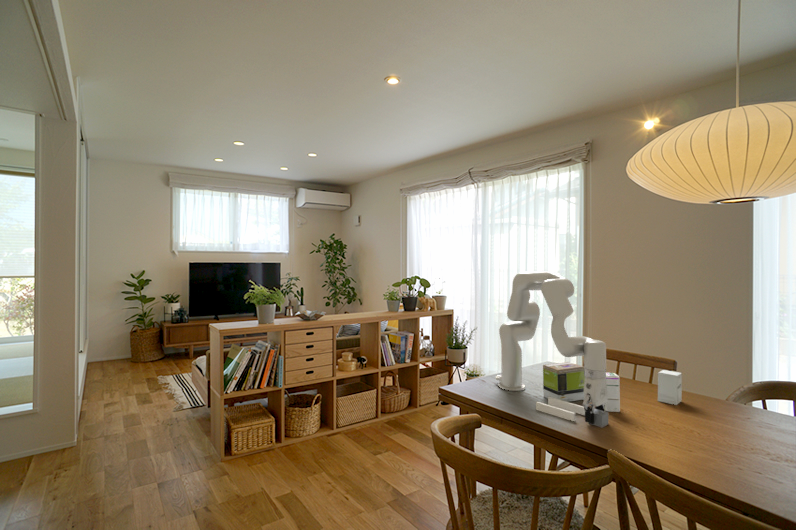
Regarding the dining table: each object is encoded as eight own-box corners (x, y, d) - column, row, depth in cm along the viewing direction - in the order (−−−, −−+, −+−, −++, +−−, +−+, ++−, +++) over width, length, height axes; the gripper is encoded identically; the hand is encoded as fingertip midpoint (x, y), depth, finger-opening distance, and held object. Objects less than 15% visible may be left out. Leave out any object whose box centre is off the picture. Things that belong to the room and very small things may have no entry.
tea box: (569, 393, 186) (569, 361, 186) (586, 400, 176) (586, 366, 176) (542, 396, 181) (542, 363, 181) (557, 404, 172) (557, 369, 172)
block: (588, 423, 151) (588, 411, 151) (594, 420, 154) (594, 408, 154) (602, 427, 147) (602, 415, 147) (608, 424, 150) (608, 412, 150)
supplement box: (677, 405, 170) (677, 375, 169) (657, 401, 175) (657, 372, 175) (682, 401, 174) (682, 372, 174) (662, 397, 180) (662, 369, 180)
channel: (535, 409, 165) (535, 402, 165) (549, 404, 171) (549, 396, 171) (573, 421, 152) (573, 413, 152) (586, 415, 159) (586, 407, 159)
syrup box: (620, 412, 162) (620, 376, 162) (604, 411, 163) (604, 375, 163) (615, 407, 167) (615, 372, 167) (600, 406, 169) (600, 371, 169)
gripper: (594, 379, 143) (593, 429, 143) (615, 371, 154) (615, 417, 154) (573, 375, 149) (573, 422, 149) (595, 367, 160) (595, 411, 160)
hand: (594, 419), depth 151 cm, fingers open, 7 cm apart
